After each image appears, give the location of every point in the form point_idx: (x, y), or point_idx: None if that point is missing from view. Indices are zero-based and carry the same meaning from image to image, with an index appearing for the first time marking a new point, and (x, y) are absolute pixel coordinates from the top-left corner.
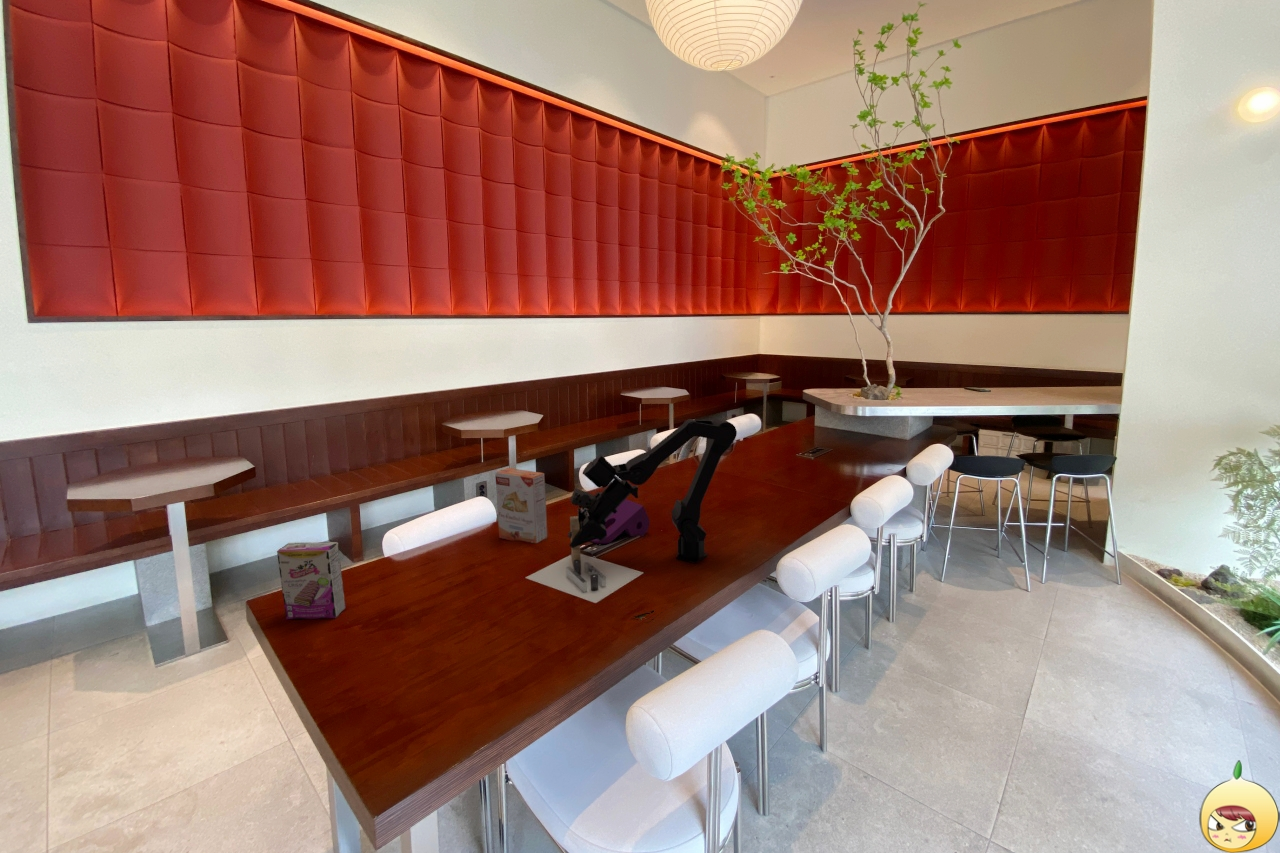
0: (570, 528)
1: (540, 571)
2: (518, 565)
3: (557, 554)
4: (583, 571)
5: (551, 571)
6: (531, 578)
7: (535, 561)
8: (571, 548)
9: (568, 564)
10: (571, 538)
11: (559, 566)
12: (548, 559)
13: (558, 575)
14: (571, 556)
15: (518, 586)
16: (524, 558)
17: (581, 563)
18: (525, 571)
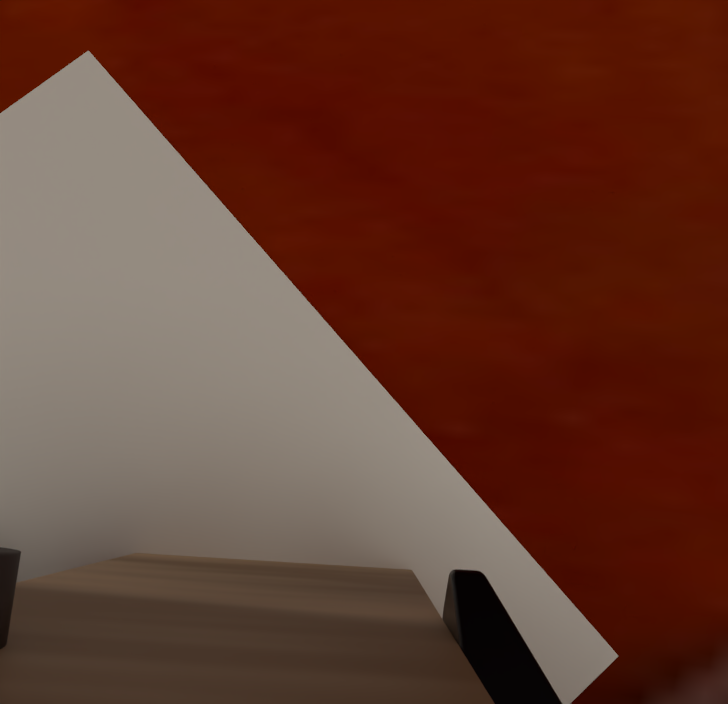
0: (447, 673)
1: (180, 196)
2: (479, 32)
3: (682, 428)
4: None
5: (141, 305)
6: (46, 104)
7: (539, 187)
8: (330, 588)
9: (270, 512)
10: (135, 619)
11: (243, 402)
12: (562, 318)
13: (16, 368)
14: (410, 573)
15: (26, 19)
16: (638, 89)
17: None
18: (323, 86)
